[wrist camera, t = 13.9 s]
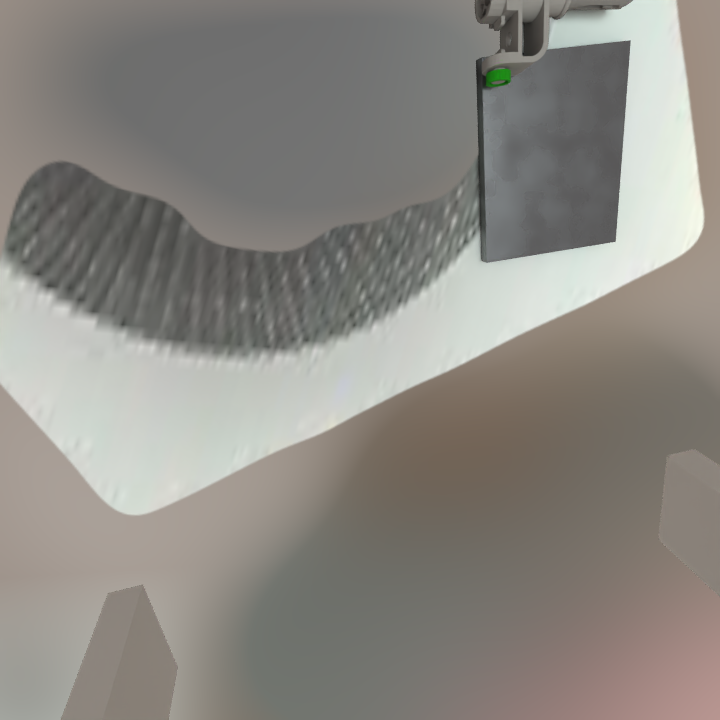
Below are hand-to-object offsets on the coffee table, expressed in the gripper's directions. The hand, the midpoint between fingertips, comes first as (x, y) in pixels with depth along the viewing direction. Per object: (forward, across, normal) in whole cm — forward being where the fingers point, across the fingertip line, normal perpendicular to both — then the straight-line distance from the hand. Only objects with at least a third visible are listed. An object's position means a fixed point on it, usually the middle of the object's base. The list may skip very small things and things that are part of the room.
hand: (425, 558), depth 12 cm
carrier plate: (+28, +19, +7) cm, 35 cm away
